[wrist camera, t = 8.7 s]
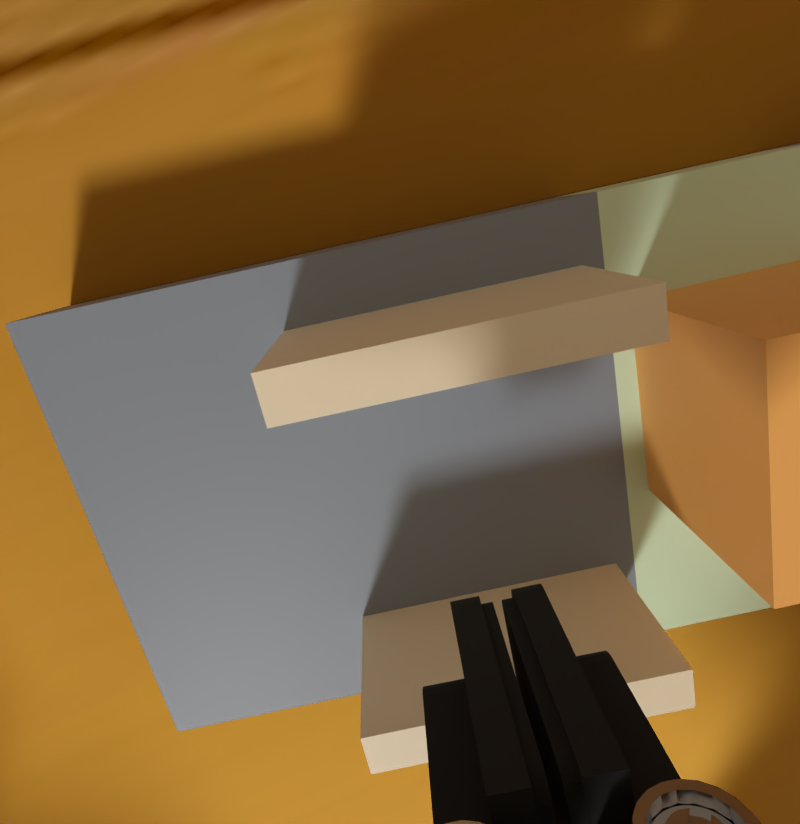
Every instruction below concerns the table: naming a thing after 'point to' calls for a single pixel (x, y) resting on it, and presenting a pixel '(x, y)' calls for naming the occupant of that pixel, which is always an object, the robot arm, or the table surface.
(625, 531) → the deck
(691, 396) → the cube
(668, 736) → the table surface
